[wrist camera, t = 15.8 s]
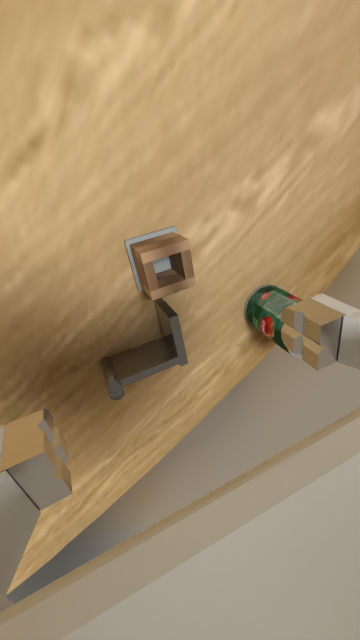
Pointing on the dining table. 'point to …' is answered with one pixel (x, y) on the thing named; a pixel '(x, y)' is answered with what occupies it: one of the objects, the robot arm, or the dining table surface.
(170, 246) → the brown hollow square block
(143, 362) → the bent rail
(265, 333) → the canned tomato
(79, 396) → the dining table surface
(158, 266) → the mat
